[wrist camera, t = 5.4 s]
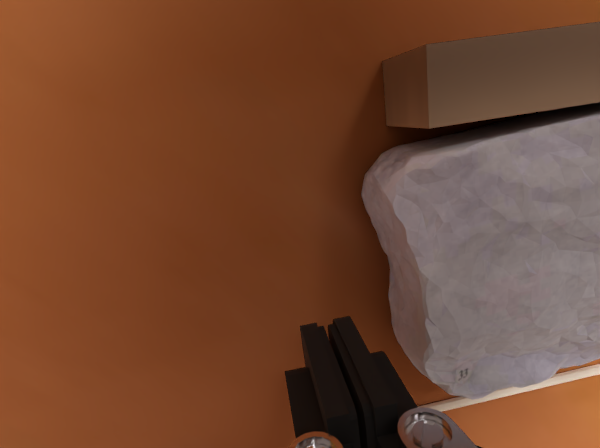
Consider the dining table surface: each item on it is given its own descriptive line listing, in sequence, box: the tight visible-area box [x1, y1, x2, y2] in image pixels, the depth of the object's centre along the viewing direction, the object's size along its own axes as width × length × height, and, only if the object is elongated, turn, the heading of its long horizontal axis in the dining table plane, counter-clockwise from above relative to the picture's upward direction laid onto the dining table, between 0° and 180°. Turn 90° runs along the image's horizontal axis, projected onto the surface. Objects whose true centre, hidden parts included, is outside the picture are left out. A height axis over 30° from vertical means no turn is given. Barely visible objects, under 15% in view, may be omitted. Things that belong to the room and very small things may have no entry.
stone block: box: [361, 102, 600, 400], centre depth 13 cm, size 12×5×10 cm
